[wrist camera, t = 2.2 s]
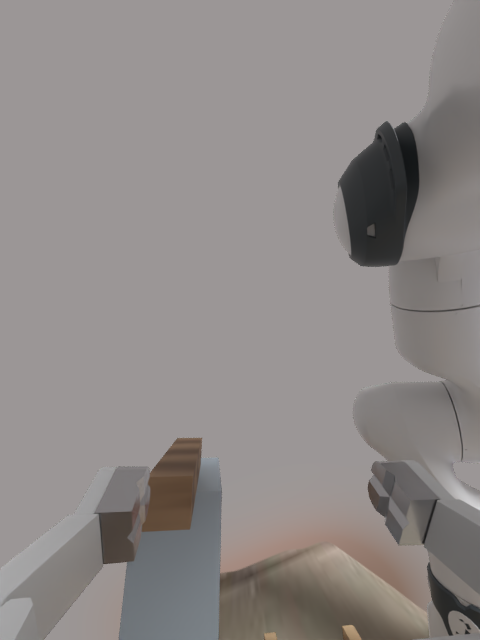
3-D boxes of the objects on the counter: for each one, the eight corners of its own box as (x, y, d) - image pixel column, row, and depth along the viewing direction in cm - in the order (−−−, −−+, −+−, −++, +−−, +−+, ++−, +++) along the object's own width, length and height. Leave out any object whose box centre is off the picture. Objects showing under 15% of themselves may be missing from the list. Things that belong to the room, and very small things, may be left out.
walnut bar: (175, 465, 40) (177, 438, 41) (200, 464, 40) (201, 437, 41) (141, 531, 21) (146, 477, 22) (190, 529, 21) (192, 475, 22)
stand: (144, 657, 36) (161, 458, 44) (213, 650, 37) (218, 457, 45) (95, 850, 21) (134, 493, 28) (214, 829, 22) (221, 490, 29)
